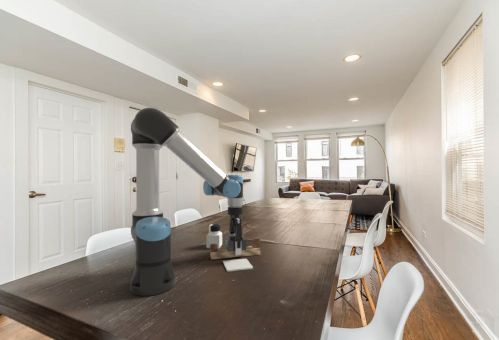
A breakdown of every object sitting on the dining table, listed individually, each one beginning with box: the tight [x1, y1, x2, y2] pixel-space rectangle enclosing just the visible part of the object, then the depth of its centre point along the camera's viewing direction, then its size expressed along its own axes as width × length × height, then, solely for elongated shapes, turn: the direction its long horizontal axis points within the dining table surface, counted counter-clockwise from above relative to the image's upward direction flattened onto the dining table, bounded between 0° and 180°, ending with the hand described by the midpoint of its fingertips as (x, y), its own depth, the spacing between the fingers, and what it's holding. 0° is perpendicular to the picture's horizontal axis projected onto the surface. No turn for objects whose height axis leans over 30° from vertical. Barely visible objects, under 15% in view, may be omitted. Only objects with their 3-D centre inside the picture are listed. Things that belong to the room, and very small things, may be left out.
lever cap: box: [224, 234, 248, 252], centre depth 118 cm, size 9×8×6 cm
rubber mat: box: [222, 258, 254, 273], centre depth 105 cm, size 11×11×1 cm
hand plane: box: [209, 237, 261, 260], centre depth 118 cm, size 24×5×8 cm, turn 106°
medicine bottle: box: [206, 223, 223, 249], centre depth 132 cm, size 7×7×12 cm
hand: (235, 250), depth 118 cm, fingers open, 12 cm apart
